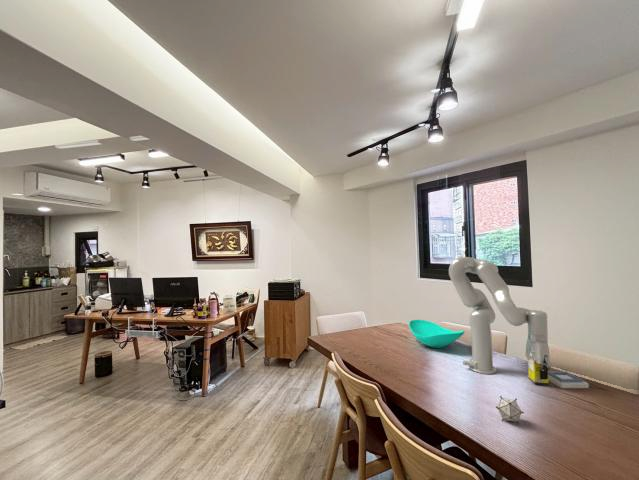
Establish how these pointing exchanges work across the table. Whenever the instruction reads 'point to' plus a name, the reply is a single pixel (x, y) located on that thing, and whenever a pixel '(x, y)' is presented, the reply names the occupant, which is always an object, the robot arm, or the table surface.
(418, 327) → the table top decor
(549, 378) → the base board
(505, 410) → the grey icosahedron
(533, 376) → the supplement box
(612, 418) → the table surface
